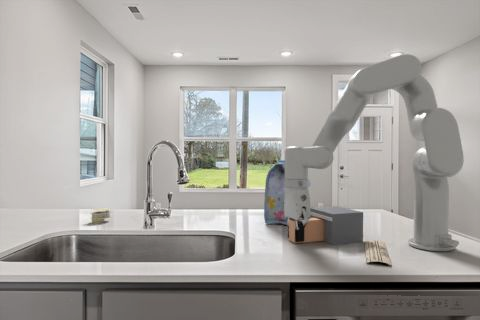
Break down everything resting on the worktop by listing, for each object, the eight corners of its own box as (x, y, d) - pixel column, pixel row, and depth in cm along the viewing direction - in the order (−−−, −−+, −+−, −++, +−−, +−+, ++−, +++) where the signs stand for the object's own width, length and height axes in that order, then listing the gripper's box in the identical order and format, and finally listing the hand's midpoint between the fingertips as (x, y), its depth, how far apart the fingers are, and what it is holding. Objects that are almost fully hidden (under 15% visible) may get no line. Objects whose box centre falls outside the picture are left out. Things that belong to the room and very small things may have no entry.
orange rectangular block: (341, 238, 118) (341, 218, 118) (294, 243, 112) (294, 221, 112) (334, 236, 122) (334, 216, 121) (288, 240, 115) (289, 219, 115)
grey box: (362, 241, 115) (363, 212, 115) (330, 244, 110) (330, 214, 110) (337, 232, 128) (337, 206, 128) (307, 235, 124) (307, 207, 123)
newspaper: (364, 244, 113) (364, 239, 113) (388, 246, 111) (388, 241, 111) (366, 267, 91) (366, 260, 91) (395, 270, 89) (396, 263, 89)
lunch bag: (302, 228, 135) (302, 160, 135) (261, 224, 142) (261, 159, 141) (312, 218, 156) (313, 159, 156) (276, 215, 163) (276, 159, 162)
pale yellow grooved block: (98, 225, 140) (98, 211, 140) (83, 223, 144) (83, 210, 144) (118, 221, 149) (117, 208, 148) (103, 219, 153) (103, 207, 153)
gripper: (320, 186, 107) (319, 245, 107) (293, 181, 123) (293, 233, 123) (298, 186, 105) (298, 247, 105) (274, 182, 120) (274, 235, 121)
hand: (295, 239), depth 114 cm, fingers closed on orange rectangular block, 4 cm apart
